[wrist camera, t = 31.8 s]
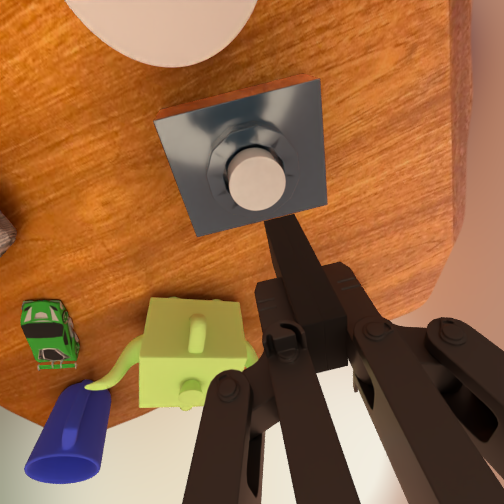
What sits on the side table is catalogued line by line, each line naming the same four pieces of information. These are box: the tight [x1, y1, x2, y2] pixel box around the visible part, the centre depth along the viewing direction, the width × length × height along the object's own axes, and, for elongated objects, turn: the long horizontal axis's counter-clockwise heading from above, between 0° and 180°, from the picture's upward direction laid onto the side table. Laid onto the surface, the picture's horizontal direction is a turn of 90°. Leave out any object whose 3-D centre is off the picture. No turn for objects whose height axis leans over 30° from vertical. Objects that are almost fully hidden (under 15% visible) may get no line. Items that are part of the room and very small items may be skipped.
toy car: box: [21, 300, 80, 371], centre depth 35 cm, size 10×5×2 cm, turn 174°
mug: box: [24, 379, 111, 484], centre depth 39 cm, size 8×12×10 cm
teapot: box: [85, 297, 259, 411], centre depth 34 cm, size 15×13×11 cm
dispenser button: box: [227, 147, 286, 211], centre depth 22 cm, size 4×4×2 cm
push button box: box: [153, 73, 328, 237], centre depth 25 cm, size 12×10×6 cm
